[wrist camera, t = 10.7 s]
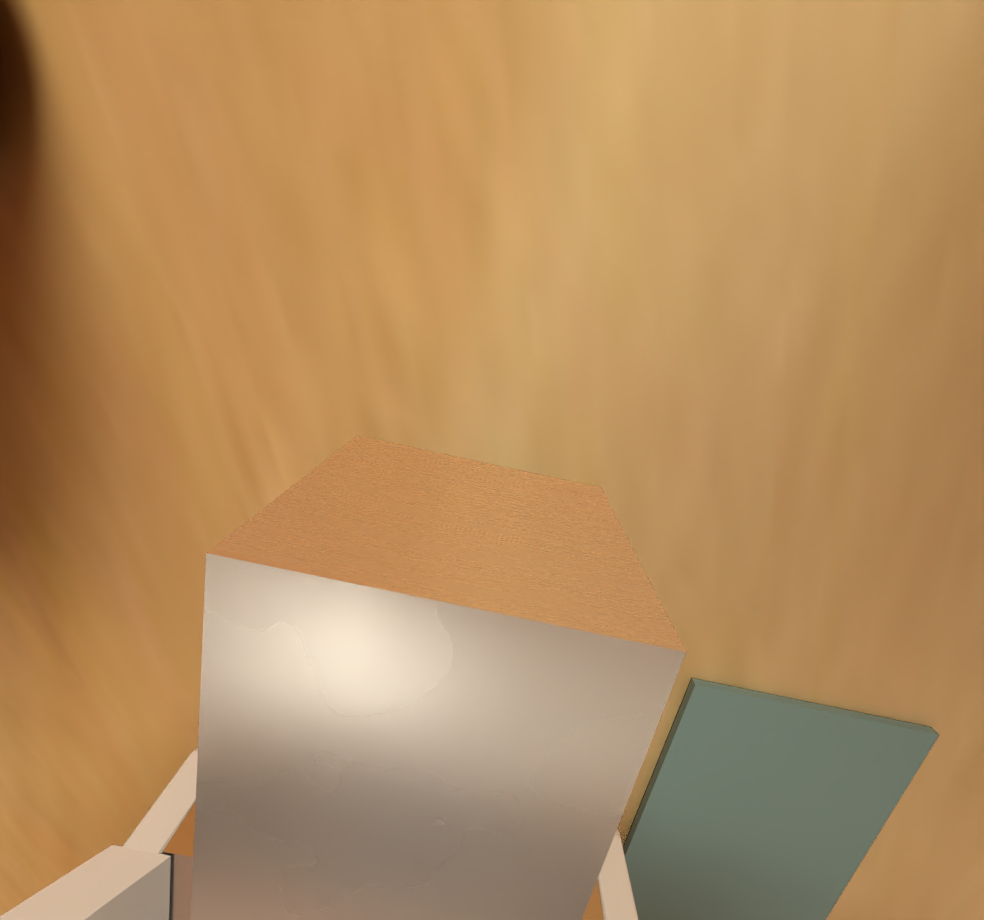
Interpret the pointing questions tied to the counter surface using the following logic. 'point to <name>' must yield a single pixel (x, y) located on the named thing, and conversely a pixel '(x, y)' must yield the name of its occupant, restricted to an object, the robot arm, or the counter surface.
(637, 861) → the mat
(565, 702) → the bar
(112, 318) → the counter surface
